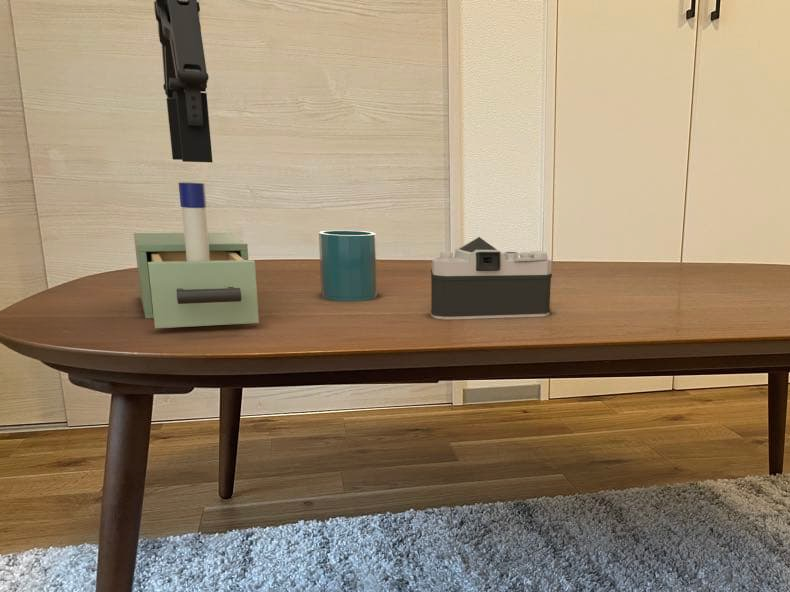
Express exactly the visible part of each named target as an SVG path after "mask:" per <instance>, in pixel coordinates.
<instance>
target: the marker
mask: <svg viewBox="0 0 790 592" xmlns="http://www.w3.org/2000/svg"><path fill="white" fill-rule="evenodd" d="M178 192H179V193H178V194H179V203H180V205H179V206H180V207H181V214H182V227H183V233H184V238H185V248H186V259H187V261H210V253H209V241H208V233H209V229H208V219H207V195H206V184H205V183H204V182H186V181H185V182H184V181H183V182H178Z"/></svg>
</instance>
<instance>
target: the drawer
mask: <svg viewBox="0 0 790 592" xmlns="http://www.w3.org/2000/svg"><path fill="white" fill-rule="evenodd" d="M209 253H210V261H187V259H186V251H166V252H150V255H151V262H148V270H149V279H150V288H151V298H152V307H153V316H154V318H153V323H154V324H153V326H154V329H173V328H192V327H209V326H210V327H211V326H212V327H213V326H227V325H228V326H229V325H230V326H231V325H248V324H249V325H250V324H251V325H252V324H259V323H260V316H259V315H260V314H259V301H258V285H257V283H258V282H257V269H256V261H255V260H254V259H248V260H244V259H242V258H241V257H240V256H239V255H238V254H236V253H235V252H234V251H209Z"/></svg>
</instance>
